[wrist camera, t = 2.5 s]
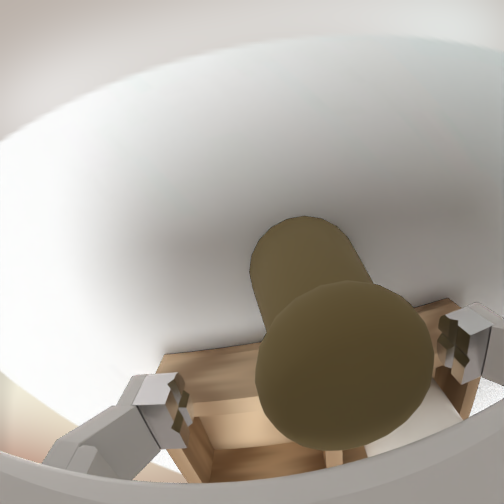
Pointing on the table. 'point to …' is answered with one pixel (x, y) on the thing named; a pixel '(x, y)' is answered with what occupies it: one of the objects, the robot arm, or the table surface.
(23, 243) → the table surface
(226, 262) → the table surface
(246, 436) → the caddy
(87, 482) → the robot arm
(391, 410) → the cork
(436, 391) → the salt shaker
